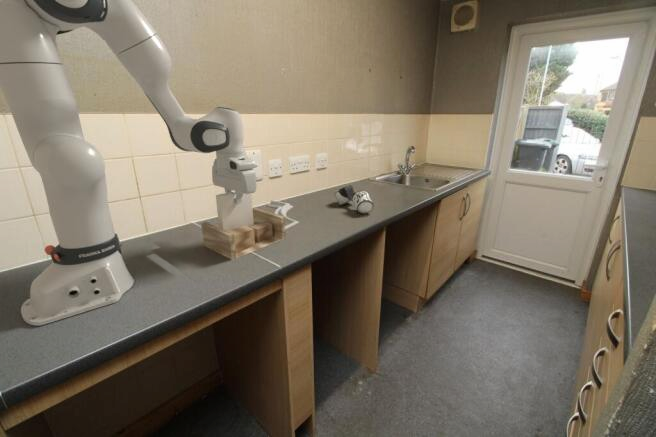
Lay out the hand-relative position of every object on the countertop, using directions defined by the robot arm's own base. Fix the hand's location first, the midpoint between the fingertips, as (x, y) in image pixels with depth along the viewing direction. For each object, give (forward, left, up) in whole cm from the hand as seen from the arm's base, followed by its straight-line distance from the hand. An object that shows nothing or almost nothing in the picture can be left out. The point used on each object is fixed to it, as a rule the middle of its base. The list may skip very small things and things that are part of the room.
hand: (234, 202), depth 104 cm
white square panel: (0, 0, -10) cm, 10 cm away
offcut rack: (0, -4, -15) cm, 16 cm away
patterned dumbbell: (+59, -8, -15) cm, 61 cm away
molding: (+28, +10, -16) cm, 33 cm away
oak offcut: (-4, -7, -14) cm, 15 cm away
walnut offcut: (+6, -6, -14) cm, 16 cm away
